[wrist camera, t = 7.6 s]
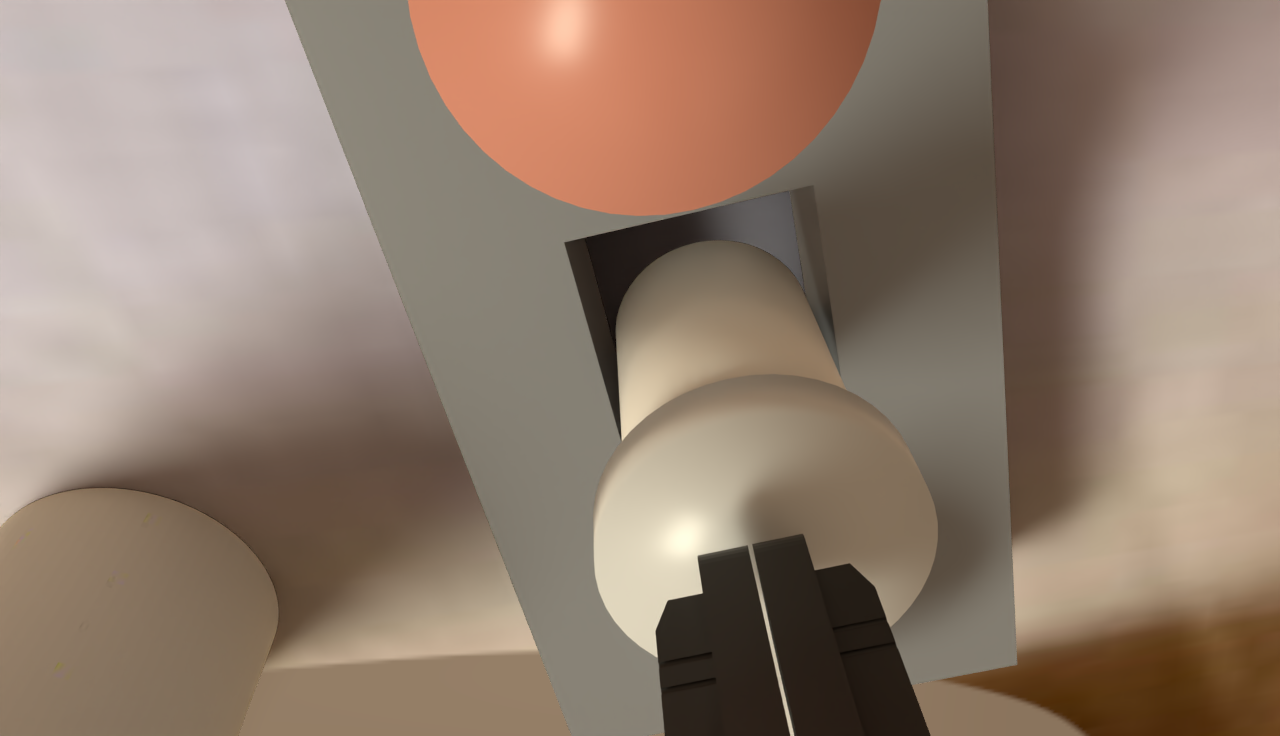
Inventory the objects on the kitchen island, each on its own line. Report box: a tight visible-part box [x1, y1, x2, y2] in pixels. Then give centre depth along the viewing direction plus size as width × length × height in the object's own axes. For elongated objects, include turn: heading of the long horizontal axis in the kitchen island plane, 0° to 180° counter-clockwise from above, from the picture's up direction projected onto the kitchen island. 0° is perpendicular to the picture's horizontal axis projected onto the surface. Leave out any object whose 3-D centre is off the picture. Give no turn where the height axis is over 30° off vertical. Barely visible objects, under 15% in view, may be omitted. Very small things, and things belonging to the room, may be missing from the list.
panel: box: [285, 0, 1017, 736], centre depth 22 cm, size 12×24×4 cm, turn 13°
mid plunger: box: [593, 240, 938, 677], centre depth 17 cm, size 5×5×7 cm
